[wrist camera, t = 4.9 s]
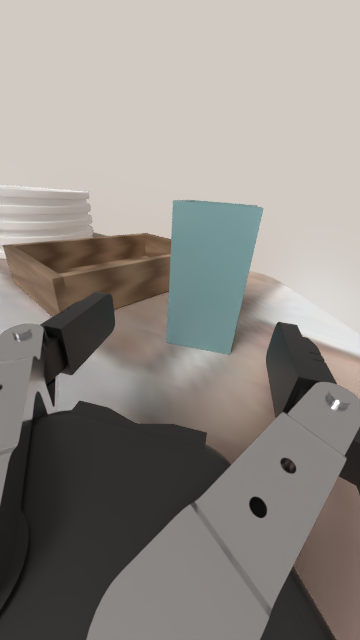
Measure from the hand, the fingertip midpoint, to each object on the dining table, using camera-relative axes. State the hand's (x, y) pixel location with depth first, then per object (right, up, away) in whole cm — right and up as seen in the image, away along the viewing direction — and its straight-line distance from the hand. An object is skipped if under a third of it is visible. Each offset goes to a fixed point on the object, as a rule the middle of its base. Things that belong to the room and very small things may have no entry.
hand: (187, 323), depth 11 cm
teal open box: (+2, -1, +12) cm, 13 cm away
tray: (-10, +7, +24) cm, 27 cm away
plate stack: (-35, +18, +41) cm, 57 cm away
